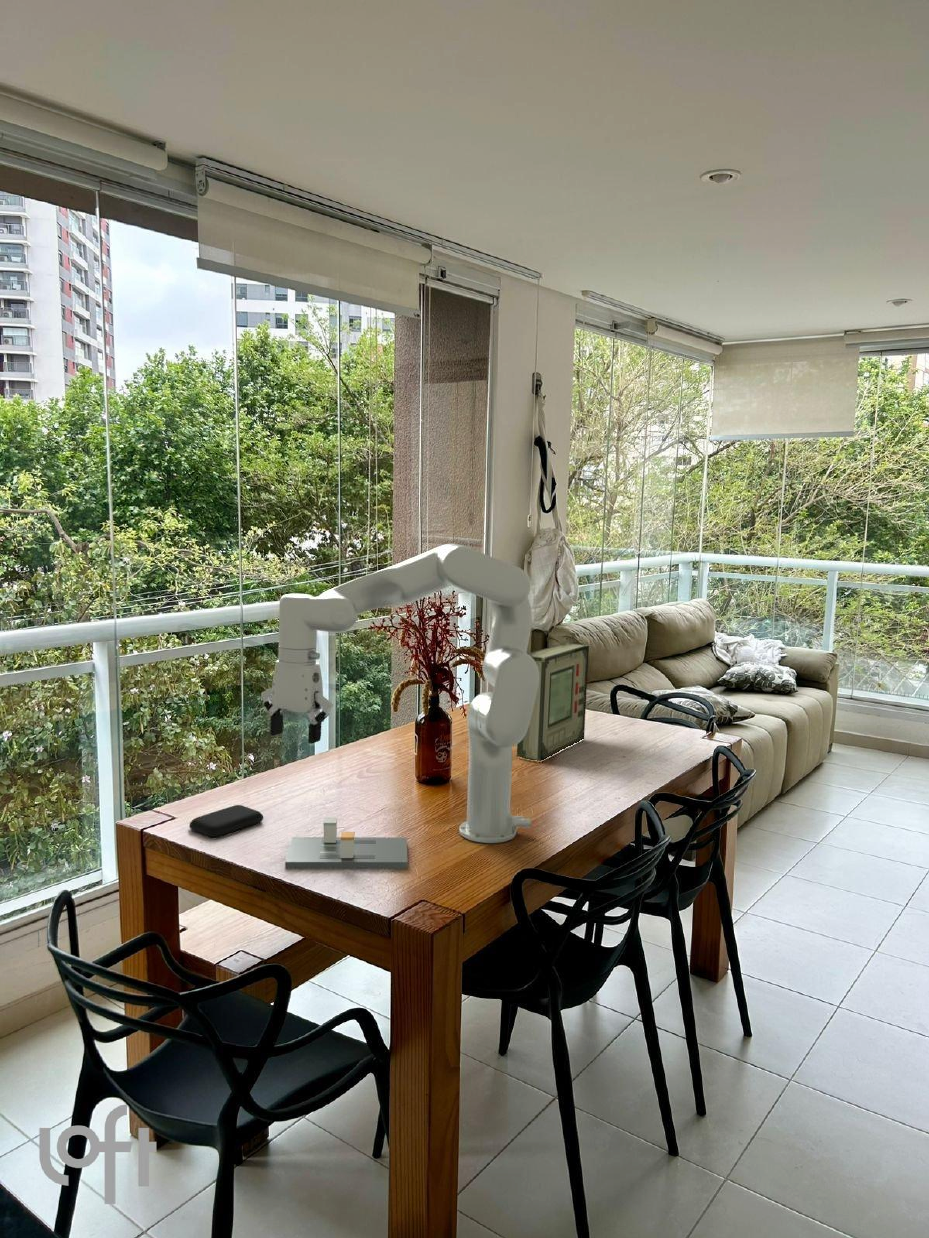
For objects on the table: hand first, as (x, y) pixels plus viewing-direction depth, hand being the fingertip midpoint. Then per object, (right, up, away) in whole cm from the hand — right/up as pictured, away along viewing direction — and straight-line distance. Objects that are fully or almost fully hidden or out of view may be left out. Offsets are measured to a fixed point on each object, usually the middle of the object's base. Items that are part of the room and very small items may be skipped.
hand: (295, 738), depth 184 cm
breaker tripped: (+11, -23, -3) cm, 26 cm away
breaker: (+7, -22, +4) cm, 23 cm away
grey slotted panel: (+11, -24, +1) cm, 27 cm away
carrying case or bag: (-18, -22, +15) cm, 32 cm away
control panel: (+61, -15, +85) cm, 106 cm away
